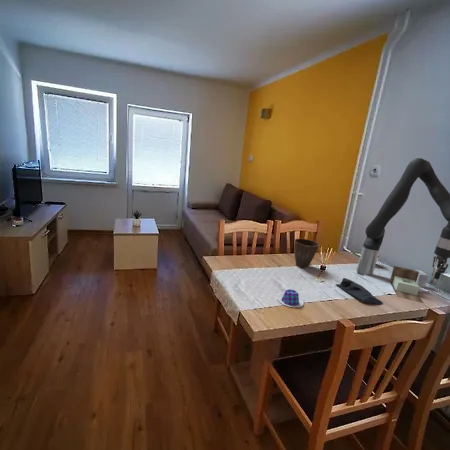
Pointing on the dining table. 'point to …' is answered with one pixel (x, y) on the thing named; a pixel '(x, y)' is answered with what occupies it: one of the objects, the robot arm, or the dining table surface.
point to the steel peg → (433, 280)
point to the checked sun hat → (290, 298)
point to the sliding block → (405, 285)
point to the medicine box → (421, 278)
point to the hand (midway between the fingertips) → (435, 277)
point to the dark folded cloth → (358, 291)
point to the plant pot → (304, 252)
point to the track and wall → (408, 275)
